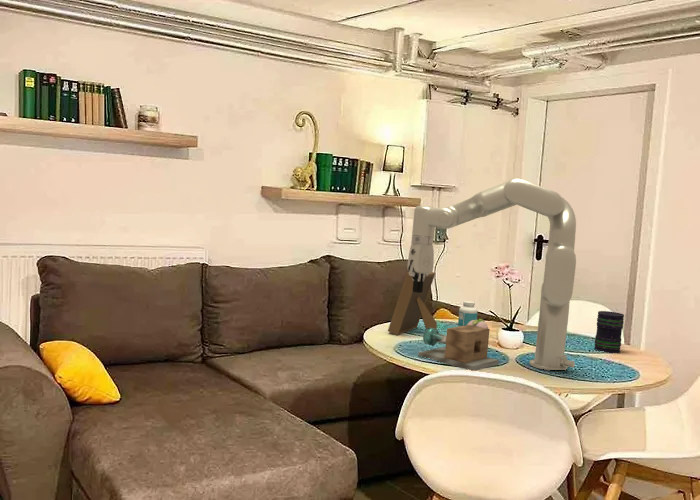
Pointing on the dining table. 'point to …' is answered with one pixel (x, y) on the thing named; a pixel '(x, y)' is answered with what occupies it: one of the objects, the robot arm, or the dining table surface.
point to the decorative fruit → (478, 323)
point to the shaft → (433, 337)
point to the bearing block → (464, 348)
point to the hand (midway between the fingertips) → (417, 292)
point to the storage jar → (609, 331)
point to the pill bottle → (467, 313)
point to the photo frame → (412, 307)
